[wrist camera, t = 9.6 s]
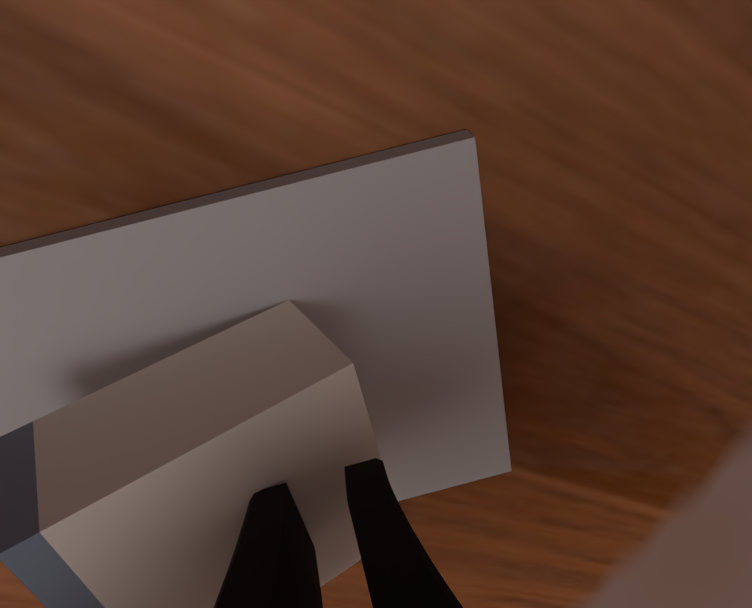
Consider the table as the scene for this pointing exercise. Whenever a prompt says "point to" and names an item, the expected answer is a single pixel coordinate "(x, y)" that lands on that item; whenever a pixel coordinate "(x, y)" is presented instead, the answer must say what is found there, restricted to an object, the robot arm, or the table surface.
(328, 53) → the table surface
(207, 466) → the beige rectangular block
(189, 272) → the mat
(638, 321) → the table surface
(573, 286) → the table surface
